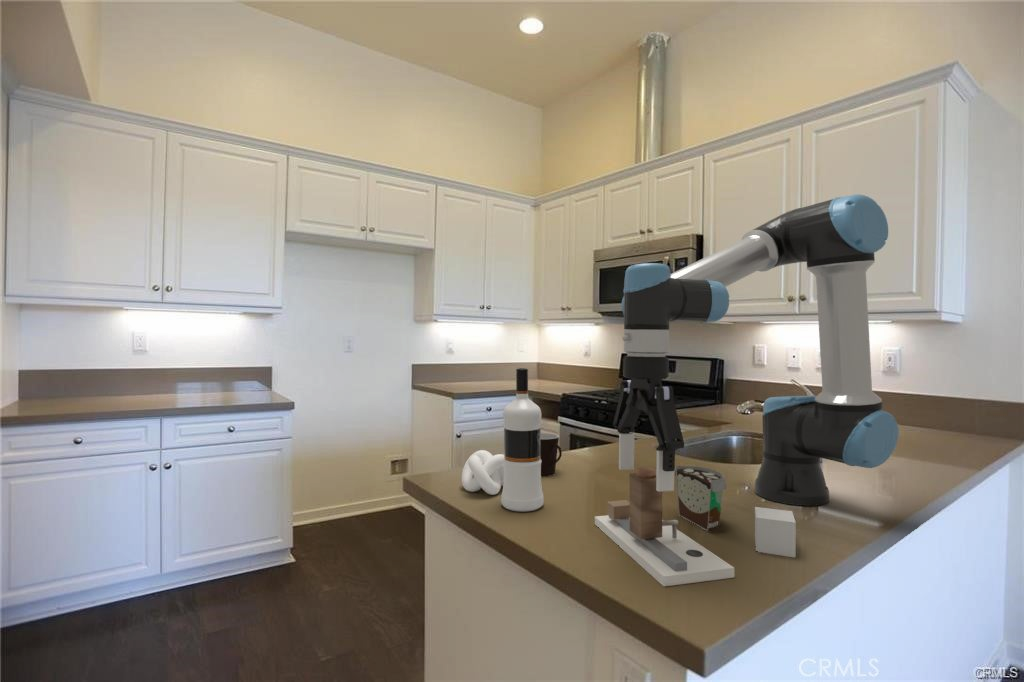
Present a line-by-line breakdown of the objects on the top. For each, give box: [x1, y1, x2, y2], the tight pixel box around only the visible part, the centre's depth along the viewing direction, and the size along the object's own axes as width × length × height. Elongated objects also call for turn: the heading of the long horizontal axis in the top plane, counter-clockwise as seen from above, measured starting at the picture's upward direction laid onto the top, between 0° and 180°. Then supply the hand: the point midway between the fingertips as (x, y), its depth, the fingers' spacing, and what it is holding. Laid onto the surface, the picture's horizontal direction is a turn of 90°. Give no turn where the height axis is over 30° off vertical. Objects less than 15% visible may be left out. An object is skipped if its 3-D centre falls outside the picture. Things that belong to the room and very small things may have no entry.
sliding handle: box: [629, 467, 679, 539], centre depth 89 cm, size 8×4×12 cm, turn 104°
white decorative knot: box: [461, 449, 504, 496], centre depth 124 cm, size 11×12×9 cm
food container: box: [674, 465, 727, 533], centre depth 103 cm, size 12×6×10 cm, turn 17°
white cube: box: [754, 506, 797, 558], centre depth 90 cm, size 6×6×6 cm
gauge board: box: [594, 499, 735, 587], centre depth 90 cm, size 12×26×5 cm, turn 14°
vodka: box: [500, 367, 545, 513], centre depth 112 cm, size 9×9×30 cm
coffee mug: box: [541, 432, 563, 477], centre depth 138 cm, size 12×9×10 cm
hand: (644, 479), depth 89 cm, fingers open, 13 cm apart
